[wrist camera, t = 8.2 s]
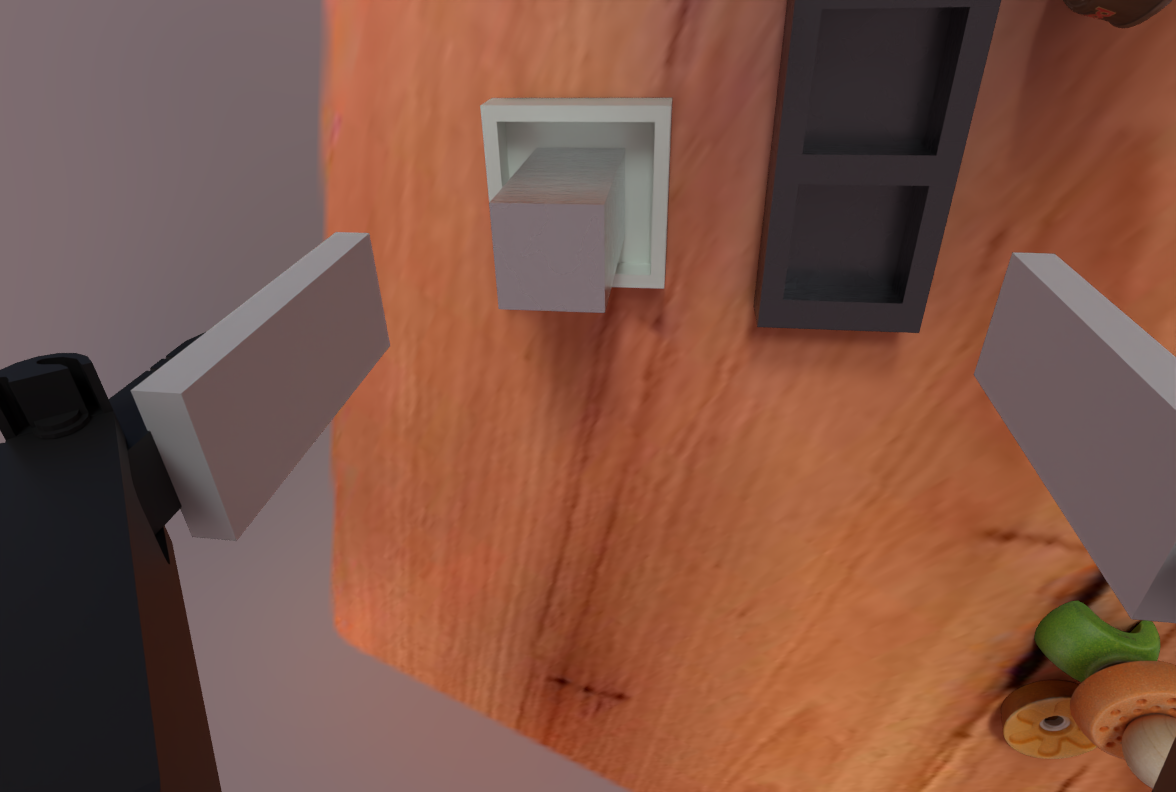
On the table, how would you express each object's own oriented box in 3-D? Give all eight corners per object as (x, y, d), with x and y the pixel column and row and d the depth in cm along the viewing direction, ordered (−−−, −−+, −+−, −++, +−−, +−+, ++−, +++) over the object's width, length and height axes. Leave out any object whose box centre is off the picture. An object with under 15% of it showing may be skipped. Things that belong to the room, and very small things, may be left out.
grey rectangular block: (536, 147, 40) (488, 202, 31) (625, 148, 39) (604, 204, 30) (541, 233, 43) (498, 309, 33) (624, 235, 42) (604, 312, 33)
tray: (491, 98, 39) (480, 105, 37) (672, 97, 38) (671, 105, 36) (506, 268, 45) (496, 283, 42) (665, 272, 43) (664, 288, 41)
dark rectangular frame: (791, -35, 34) (798, -35, 32) (986, -40, 33) (1010, -40, 31) (753, 305, 44) (757, 327, 41) (905, 311, 43) (919, 332, 40)
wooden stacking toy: (962, 720, 61) (1019, 878, 51) (1068, 582, 52) (1163, 740, 41) (1169, 766, 61) (1270, 935, 50) (1312, 635, 52) (1472, 808, 41)
